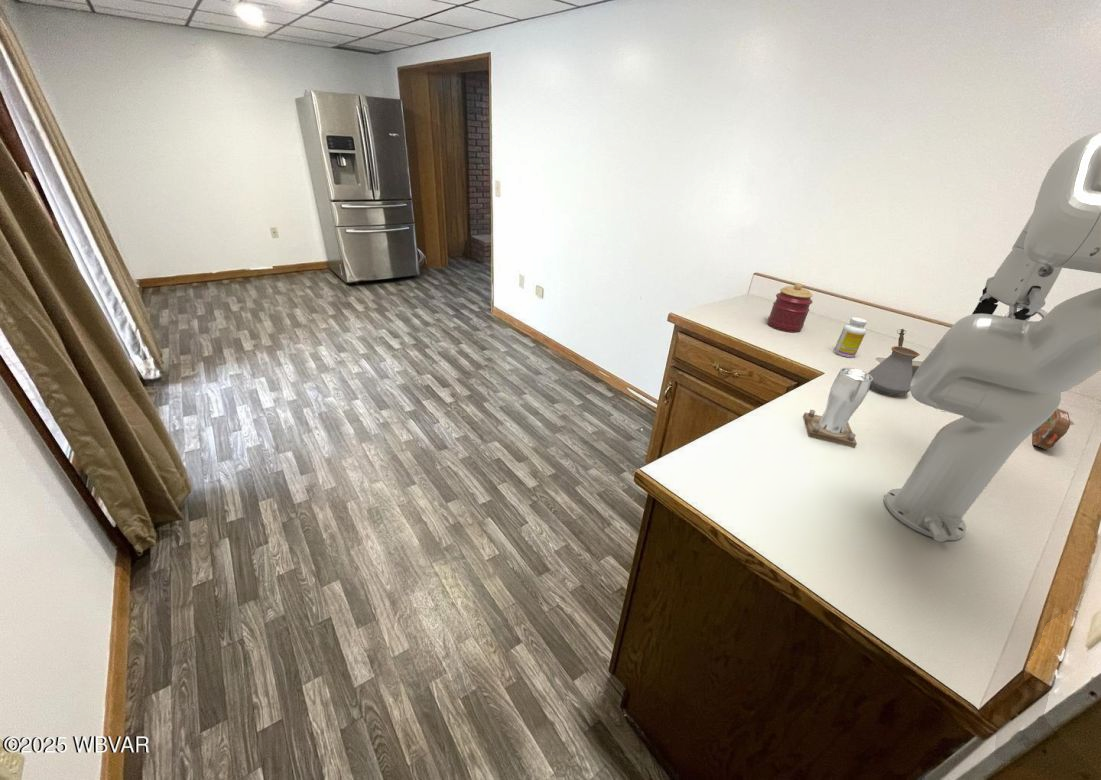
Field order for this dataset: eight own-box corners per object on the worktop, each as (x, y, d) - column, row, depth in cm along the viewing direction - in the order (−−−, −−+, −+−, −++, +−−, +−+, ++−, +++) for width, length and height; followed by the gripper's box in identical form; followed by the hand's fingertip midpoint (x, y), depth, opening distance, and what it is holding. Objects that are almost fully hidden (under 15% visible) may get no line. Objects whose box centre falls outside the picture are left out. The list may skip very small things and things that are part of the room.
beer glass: (851, 437, 103) (879, 383, 95) (820, 432, 104) (846, 378, 96) (840, 422, 109) (866, 369, 101) (811, 417, 110) (834, 365, 102)
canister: (762, 319, 179) (776, 277, 170) (794, 322, 177) (810, 280, 169) (772, 330, 167) (787, 286, 158) (806, 334, 166) (824, 290, 157)
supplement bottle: (858, 358, 149) (875, 324, 142) (839, 357, 149) (855, 322, 142) (847, 350, 155) (863, 316, 148) (829, 349, 155) (844, 315, 148)
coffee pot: (909, 403, 123) (936, 356, 115) (863, 391, 128) (886, 345, 120) (902, 375, 139) (925, 332, 132) (861, 365, 144) (881, 323, 136)
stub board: (854, 447, 102) (859, 438, 101) (808, 436, 105) (812, 427, 103) (845, 425, 110) (850, 417, 109) (803, 416, 113) (807, 407, 111)
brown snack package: (1032, 427, 116) (1052, 401, 112) (1048, 433, 114) (1069, 406, 110) (1031, 450, 106) (1054, 422, 102) (1049, 456, 104) (1072, 428, 100)
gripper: (1101, 256, 73) (1037, 348, 82) (1038, 238, 87) (989, 318, 96) (1047, 251, 75) (990, 340, 84) (994, 234, 89) (950, 312, 98)
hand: (990, 328), depth 90 cm, fingers open, 9 cm apart
